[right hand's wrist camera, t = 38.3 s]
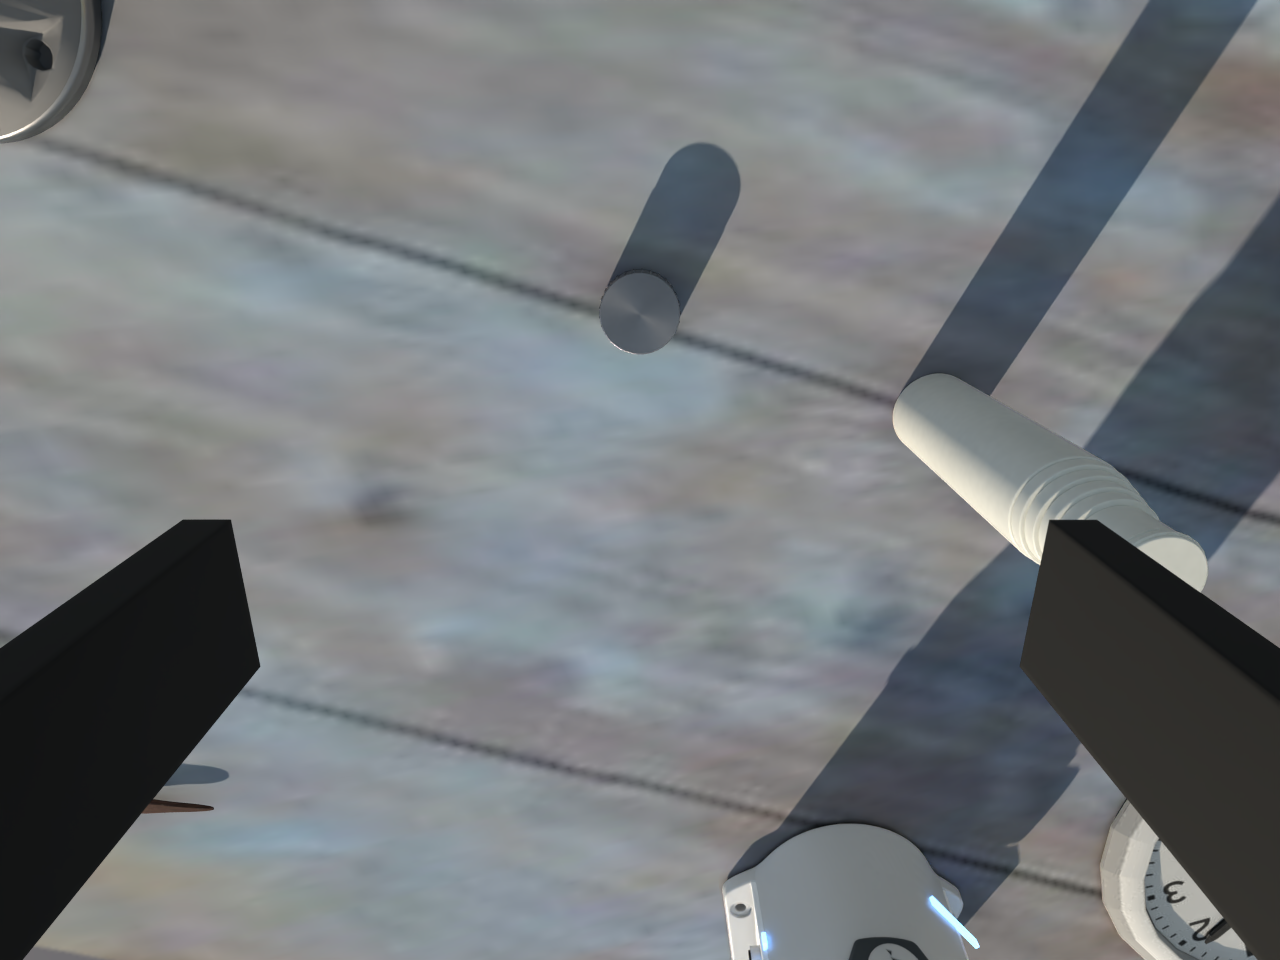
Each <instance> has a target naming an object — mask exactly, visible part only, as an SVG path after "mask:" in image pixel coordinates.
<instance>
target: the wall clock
mask: <svg viewBox="0 0 1280 960" xmlns="http://www.w3.org/2000/svg"><path fill="white" fill-rule="evenodd" d="M1100 872H1101V886H1102V900H1103V903H1104V905H1105V907H1106V909H1107V911H1108V913H1109V915H1110V917H1111V920H1112V922H1113V924H1114V926H1115V928H1116V930H1117V932H1118V934H1119V935H1120V937H1121V938H1122V939H1123V940H1125V941H1126V942H1127V943H1128V944H1129V945H1130V946H1131V947H1132V948H1133V949H1134V950H1135V951H1136V952H1137V953H1138V954H1139V955H1140V956H1141V957H1143V958H1144V959H1145V960H1257V959H1256V957H1255V956H1254V955H1253V954H1252V953H1251V951H1250V950H1249V949H1248V948H1247V946H1246V945H1245V944H1244V943H1243V941H1242V940H1241V939H1240V938H1239V936H1238V935H1237V934H1236V933H1235V932H1234V930H1233V929H1232V928H1231V927H1230V925H1229V924H1228V923H1227V922H1226V920H1225V919H1224V918H1223V917H1222V915H1221V914H1220V913H1219V912H1218V911H1217V909H1216V908H1215V907H1214V906H1213V904H1212V903H1211V902H1210V901H1209V899H1208V898H1207V897H1206V896H1205V895H1204V893H1203V892H1202V891H1201V890H1200V888H1199V887H1198V886H1197V885H1196V883H1195V882H1194V881H1193V880H1192V878H1191V877H1190V876H1189V875H1188V874H1187V872H1186V871H1185V870H1184V869H1183V867H1182V866H1181V865H1180V864H1179V862H1178V861H1177V860H1176V859H1175V858H1174V856H1173V855H1172V854H1171V853H1170V851H1169V850H1168V849H1167V848H1166V846H1165V845H1164V844H1163V843H1162V841H1161V840H1160V839H1159V838H1158V837H1157V835H1156V834H1155V833H1154V832H1153V830H1152V829H1151V828H1150V827H1149V825H1148V824H1147V823H1146V822H1145V820H1144V819H1143V818H1142V817H1141V816H1140V814H1139V813H1138V812H1137V811H1136V809H1135V808H1134V807H1133V806H1132V804H1131V803H1130V802H1129V801H1128V800H1126V802H1125V803H1124V805H1123V807H1122V808H1121V810H1120V812H1119V813H1118V815H1117V816H1116V818H1115V820H1114V821H1113V823H1112V824H1111V827H1110V830H1109V834H1108V838H1107V841H1106V845H1105V848H1104V852H1103V856H1102V859H1101V863H1100Z"/></svg>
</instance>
